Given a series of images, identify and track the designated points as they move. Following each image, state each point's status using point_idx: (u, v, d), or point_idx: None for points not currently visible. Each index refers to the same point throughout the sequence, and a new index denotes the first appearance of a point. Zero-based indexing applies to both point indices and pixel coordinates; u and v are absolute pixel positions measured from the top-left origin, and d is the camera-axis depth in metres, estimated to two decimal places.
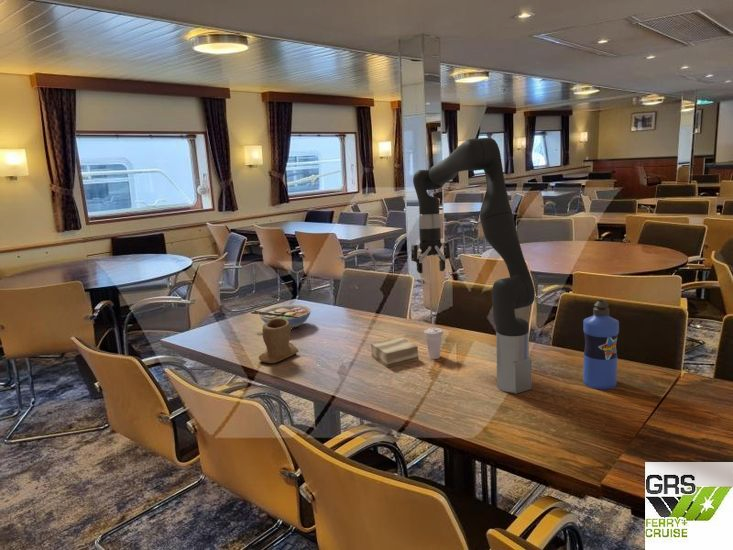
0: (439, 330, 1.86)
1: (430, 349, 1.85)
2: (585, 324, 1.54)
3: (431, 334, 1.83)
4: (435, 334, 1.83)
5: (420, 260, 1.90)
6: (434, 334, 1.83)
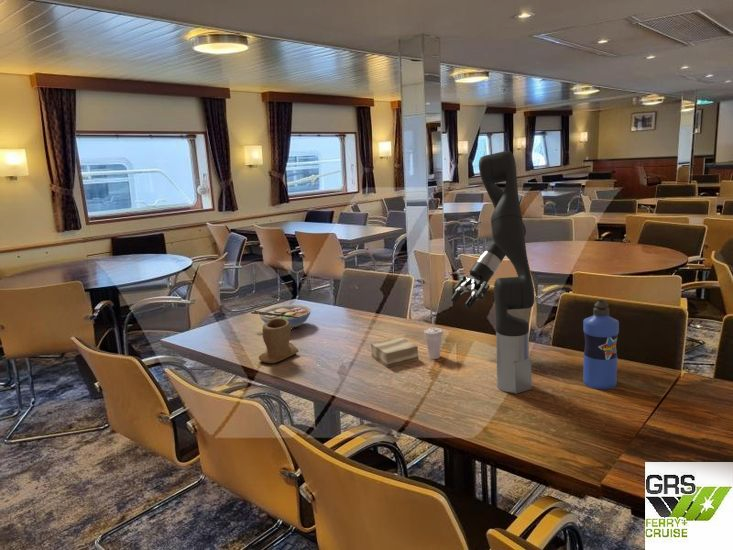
0: (439, 330, 1.86)
1: (430, 349, 1.85)
2: (585, 324, 1.54)
3: (431, 334, 1.83)
4: (435, 334, 1.83)
5: (457, 288, 1.93)
6: (434, 334, 1.83)
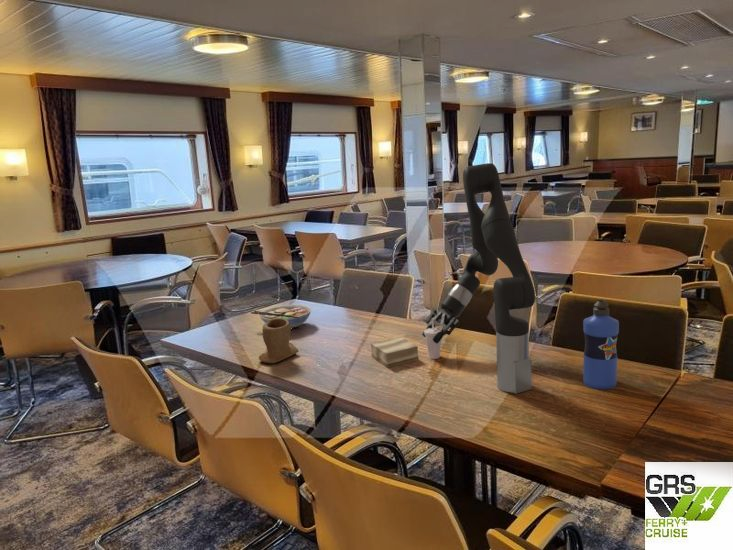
0: None
1: (430, 349, 1.85)
2: (585, 324, 1.54)
3: (431, 334, 1.83)
4: (435, 334, 1.83)
5: (429, 323, 1.89)
6: (434, 334, 1.83)
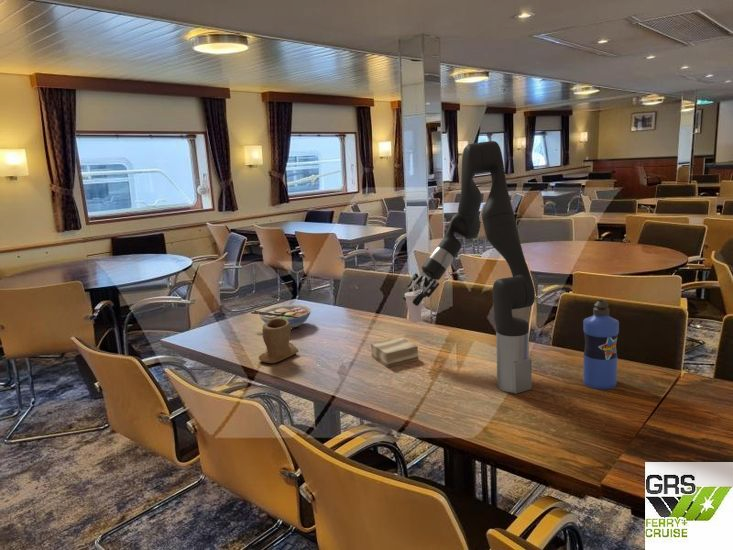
0: None
1: (411, 312, 1.84)
2: (585, 324, 1.54)
3: (411, 296, 1.82)
4: (415, 296, 1.81)
5: (410, 287, 1.88)
6: (414, 296, 1.81)
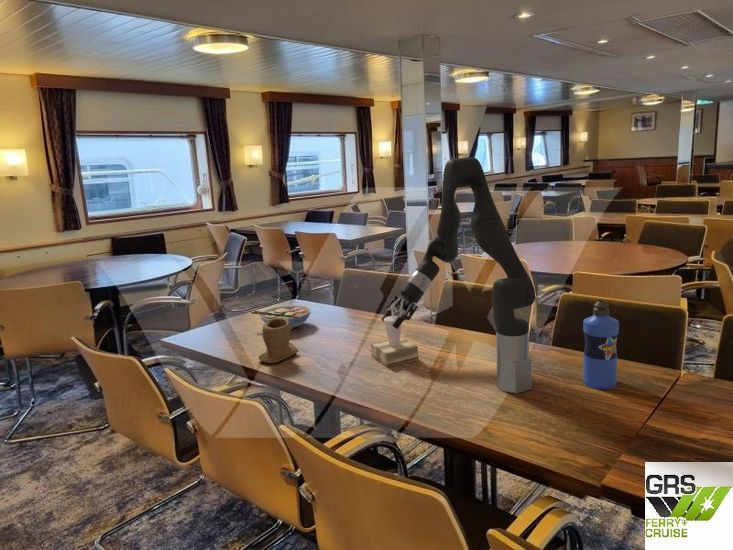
0: None
1: (390, 336, 1.86)
2: (585, 324, 1.54)
3: (390, 322, 1.84)
4: None
5: (388, 308, 1.90)
6: (393, 322, 1.83)
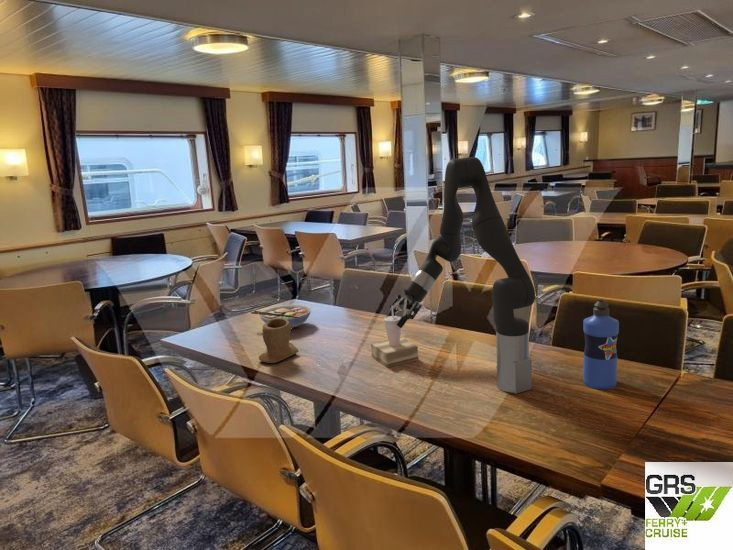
0: (399, 318, 1.86)
1: (390, 336, 1.86)
2: (585, 324, 1.54)
3: (390, 321, 1.84)
4: (394, 321, 1.83)
5: None
6: (393, 321, 1.83)
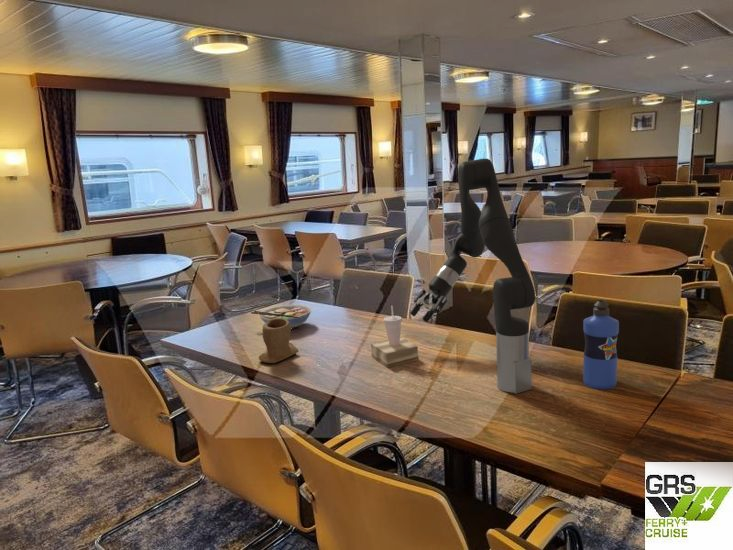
0: (398, 318, 1.86)
1: (390, 336, 1.86)
2: (585, 324, 1.54)
3: (390, 322, 1.84)
4: (394, 321, 1.83)
5: (416, 302, 1.95)
6: (393, 321, 1.83)
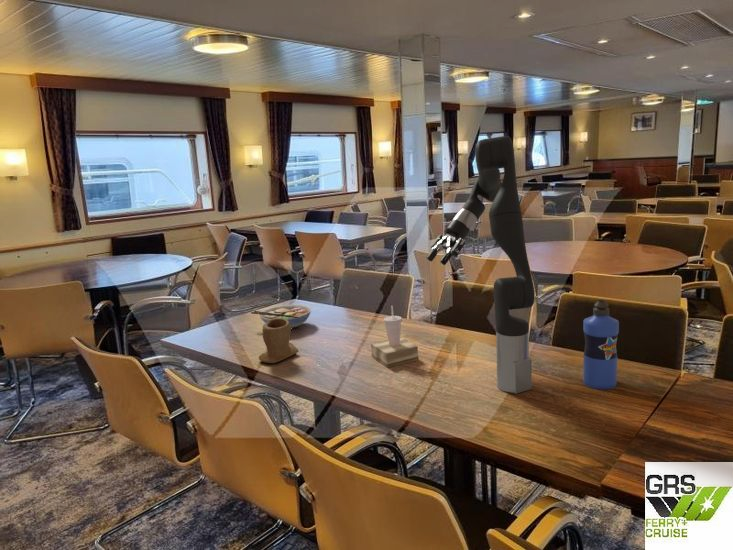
0: (398, 318, 1.86)
1: (390, 336, 1.86)
2: (585, 324, 1.54)
3: (390, 322, 1.84)
4: (394, 322, 1.83)
5: (433, 247, 1.91)
6: (393, 322, 1.83)
